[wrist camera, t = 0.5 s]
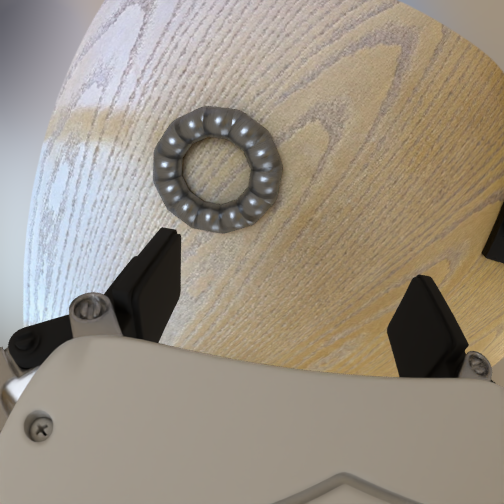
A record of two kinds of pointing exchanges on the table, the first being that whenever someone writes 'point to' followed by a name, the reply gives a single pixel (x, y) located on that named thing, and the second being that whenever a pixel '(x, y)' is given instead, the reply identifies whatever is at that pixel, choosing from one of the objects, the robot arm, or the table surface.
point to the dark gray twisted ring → (240, 134)
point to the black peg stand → (496, 240)
